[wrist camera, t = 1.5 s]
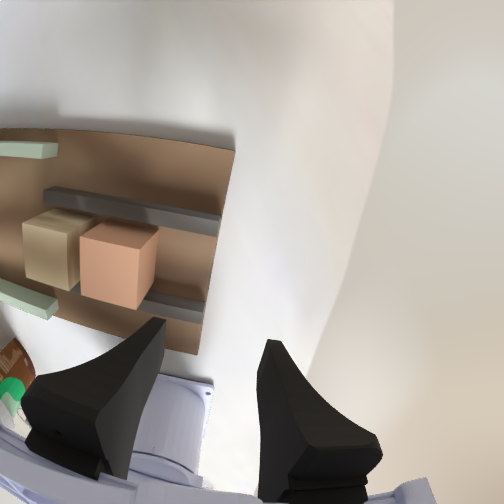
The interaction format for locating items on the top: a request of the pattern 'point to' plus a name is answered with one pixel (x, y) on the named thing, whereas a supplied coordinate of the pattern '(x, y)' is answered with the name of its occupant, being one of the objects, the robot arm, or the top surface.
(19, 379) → the food container
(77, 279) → the birch block
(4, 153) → the tray
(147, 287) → the terracotta block
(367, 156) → the top surface
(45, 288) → the groove board
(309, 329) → the top surface
